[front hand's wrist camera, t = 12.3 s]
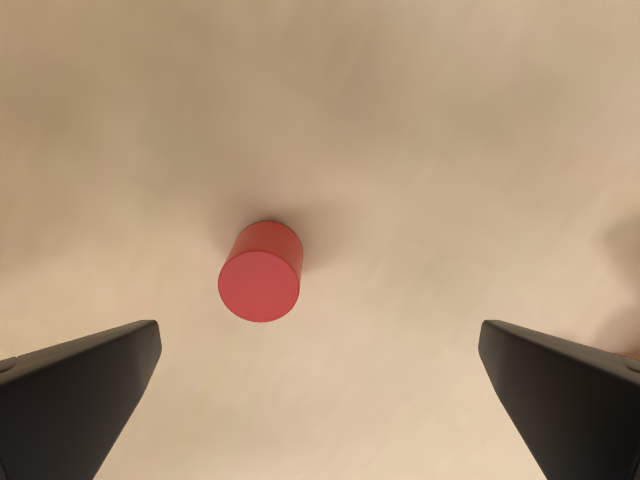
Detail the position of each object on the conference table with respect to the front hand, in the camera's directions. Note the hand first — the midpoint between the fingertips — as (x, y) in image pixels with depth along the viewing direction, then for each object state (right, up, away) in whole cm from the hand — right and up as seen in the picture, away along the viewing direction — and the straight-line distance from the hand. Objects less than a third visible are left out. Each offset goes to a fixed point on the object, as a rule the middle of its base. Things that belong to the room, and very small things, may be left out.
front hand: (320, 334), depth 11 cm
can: (-3, +2, +12) cm, 13 cm away
